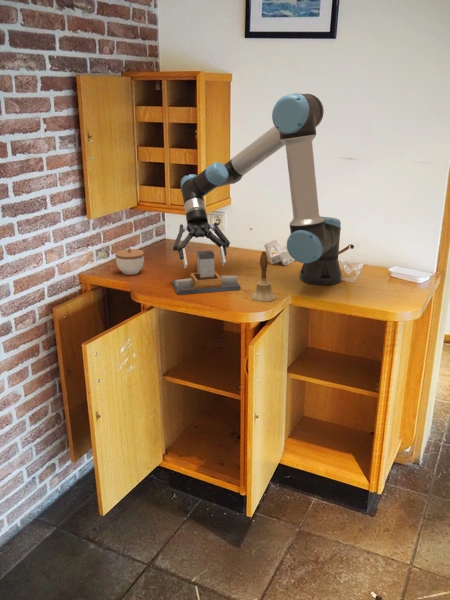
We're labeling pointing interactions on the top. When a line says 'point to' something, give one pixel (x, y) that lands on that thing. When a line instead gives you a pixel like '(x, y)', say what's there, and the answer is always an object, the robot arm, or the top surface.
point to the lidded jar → (130, 260)
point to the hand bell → (263, 283)
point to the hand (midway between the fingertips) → (205, 265)
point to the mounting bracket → (281, 255)
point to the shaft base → (205, 284)
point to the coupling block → (205, 265)
